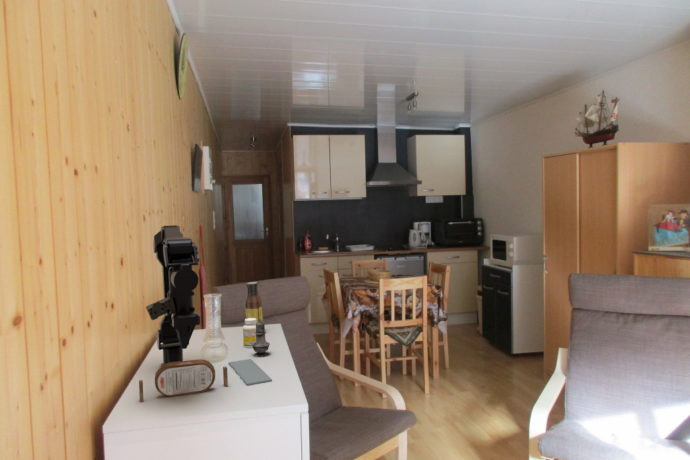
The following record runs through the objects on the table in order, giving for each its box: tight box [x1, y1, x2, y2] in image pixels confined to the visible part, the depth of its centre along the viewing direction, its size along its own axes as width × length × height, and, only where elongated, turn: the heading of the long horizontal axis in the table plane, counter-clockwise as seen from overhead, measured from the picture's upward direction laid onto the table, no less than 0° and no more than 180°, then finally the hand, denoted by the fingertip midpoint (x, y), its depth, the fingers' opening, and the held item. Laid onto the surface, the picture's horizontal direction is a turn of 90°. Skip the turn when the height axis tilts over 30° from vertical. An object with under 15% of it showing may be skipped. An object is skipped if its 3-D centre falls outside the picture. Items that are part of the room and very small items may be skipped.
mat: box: [228, 358, 273, 387], centre depth 143 cm, size 22×7×1 cm, turn 26°
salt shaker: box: [252, 319, 271, 358], centre depth 160 cm, size 6×6×12 cm
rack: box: [138, 366, 229, 403], centre depth 127 cm, size 2×22×5 cm, turn 116°
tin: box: [154, 358, 216, 397], centre depth 127 cm, size 15×3×8 cm, turn 109°
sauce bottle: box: [245, 281, 264, 323], centre depth 188 cm, size 6×6×20 cm
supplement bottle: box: [242, 318, 257, 349], centre depth 171 cm, size 5×5×10 cm
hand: (183, 347), depth 127 cm, fingers open, 3 cm apart
